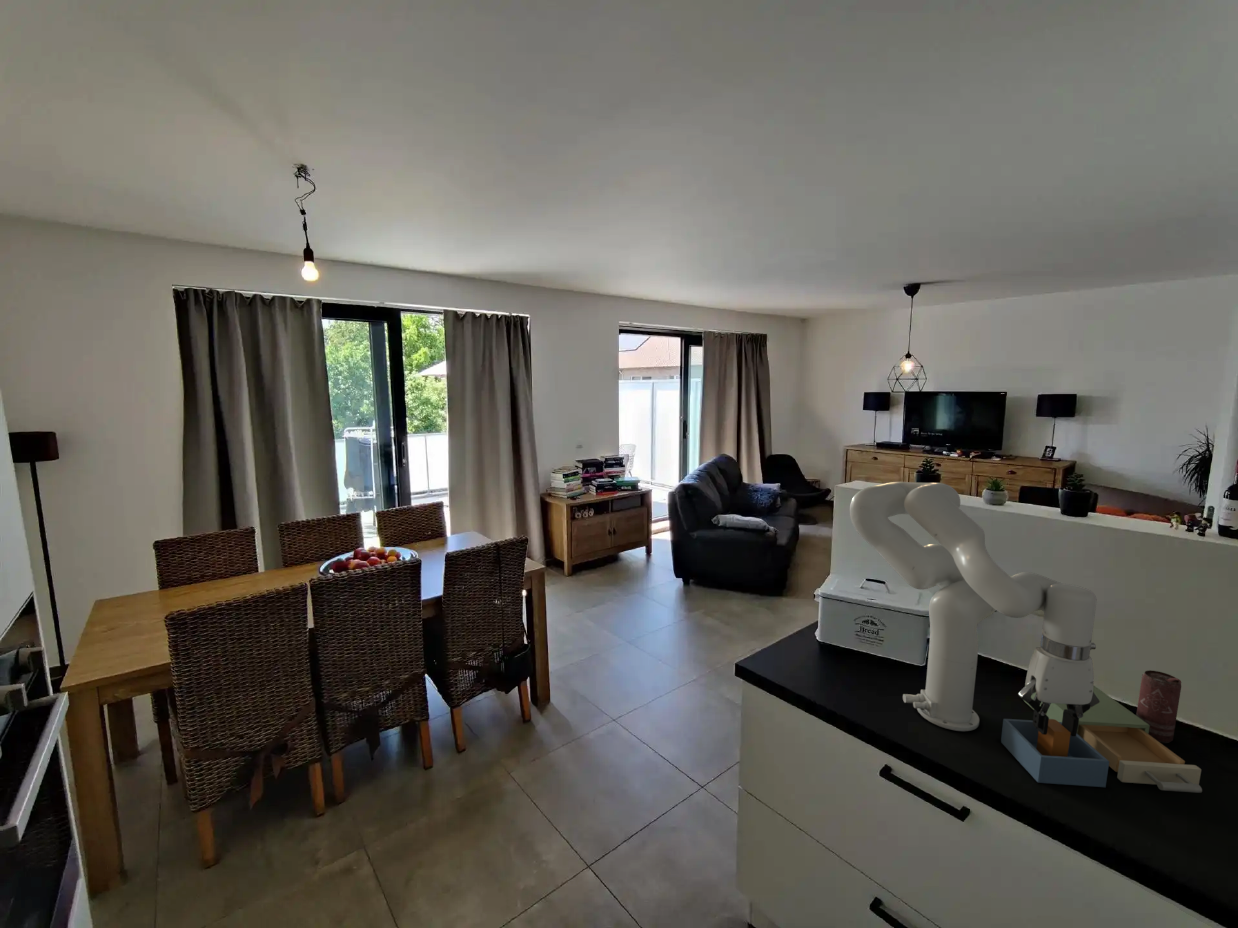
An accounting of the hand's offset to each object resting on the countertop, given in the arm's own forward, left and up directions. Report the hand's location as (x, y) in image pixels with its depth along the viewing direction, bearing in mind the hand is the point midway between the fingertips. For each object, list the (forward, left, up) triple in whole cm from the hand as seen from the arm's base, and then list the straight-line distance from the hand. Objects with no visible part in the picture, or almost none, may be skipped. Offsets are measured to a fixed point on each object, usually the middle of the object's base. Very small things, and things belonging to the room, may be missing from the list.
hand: (1054, 730), depth 109 cm
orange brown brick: (0, 0, -7) cm, 7 cm away
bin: (0, 0, -7) cm, 7 cm away
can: (+29, +12, -8) cm, 32 cm away
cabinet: (+16, +15, -7) cm, 23 cm away
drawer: (+16, 0, -6) cm, 17 cm away
